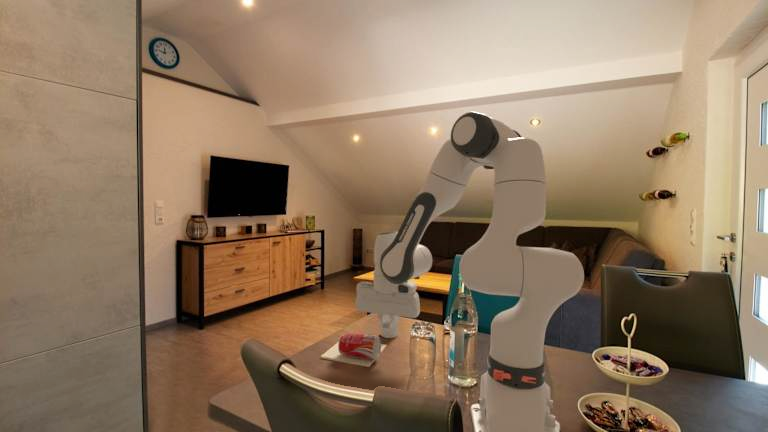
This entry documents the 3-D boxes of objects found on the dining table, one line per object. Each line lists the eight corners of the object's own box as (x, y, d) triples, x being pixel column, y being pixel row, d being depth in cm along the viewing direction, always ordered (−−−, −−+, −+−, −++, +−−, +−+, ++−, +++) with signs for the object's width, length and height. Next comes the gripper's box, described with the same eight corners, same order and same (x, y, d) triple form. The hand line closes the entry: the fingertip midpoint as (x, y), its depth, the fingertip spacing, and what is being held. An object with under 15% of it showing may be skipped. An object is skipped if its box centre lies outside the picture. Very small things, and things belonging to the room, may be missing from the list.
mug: (395, 339, 126) (395, 306, 125) (377, 336, 128) (377, 303, 128) (403, 330, 135) (403, 299, 135) (386, 328, 137) (387, 297, 137)
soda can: (380, 361, 109) (344, 356, 113) (383, 337, 112) (348, 333, 116) (373, 360, 103) (335, 355, 107) (376, 334, 106) (339, 330, 109)
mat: (369, 367, 104) (369, 365, 104) (320, 358, 109) (320, 356, 109) (386, 346, 119) (386, 344, 119) (343, 339, 125) (343, 338, 125)
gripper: (352, 282, 110) (351, 326, 111) (417, 289, 104) (415, 336, 104) (360, 278, 116) (359, 320, 117) (421, 284, 110) (420, 329, 110)
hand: (386, 328), depth 110 cm, fingers closed
